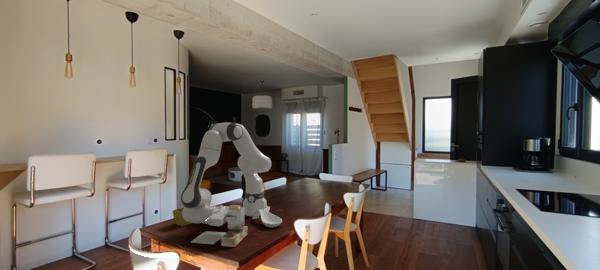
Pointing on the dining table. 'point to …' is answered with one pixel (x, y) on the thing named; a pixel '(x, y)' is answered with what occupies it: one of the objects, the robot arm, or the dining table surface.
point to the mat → (208, 237)
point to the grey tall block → (239, 214)
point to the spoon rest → (267, 218)
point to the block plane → (234, 236)
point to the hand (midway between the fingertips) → (237, 216)
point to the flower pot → (179, 217)
